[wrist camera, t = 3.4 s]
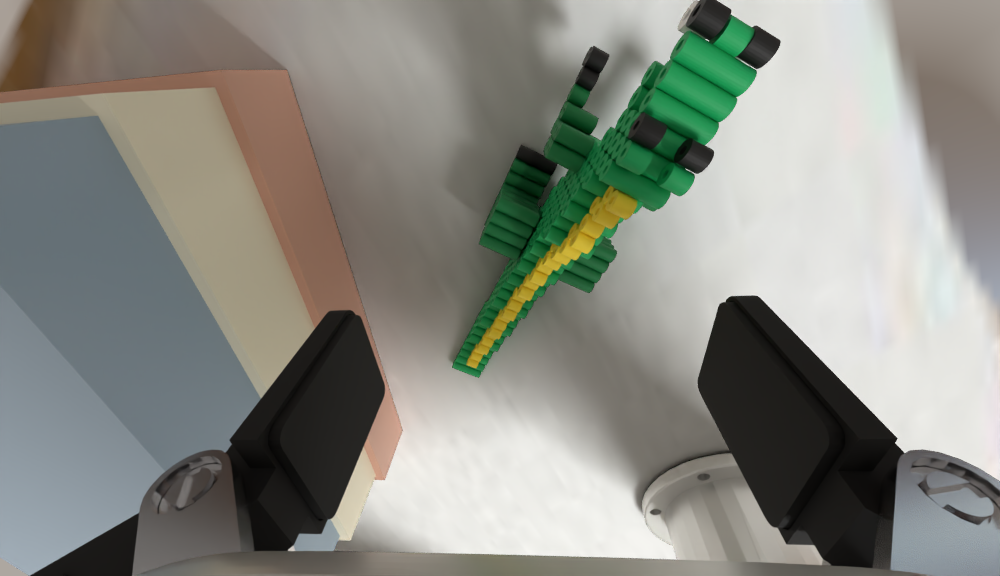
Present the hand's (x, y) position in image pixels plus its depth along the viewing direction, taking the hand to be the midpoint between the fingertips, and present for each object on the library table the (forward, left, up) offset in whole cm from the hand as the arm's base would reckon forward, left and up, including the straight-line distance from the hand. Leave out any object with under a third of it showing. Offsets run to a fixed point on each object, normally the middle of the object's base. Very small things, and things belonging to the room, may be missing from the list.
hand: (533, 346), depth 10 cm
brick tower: (+18, +5, -10) cm, 21 cm away
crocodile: (0, +2, -11) cm, 11 cm away
